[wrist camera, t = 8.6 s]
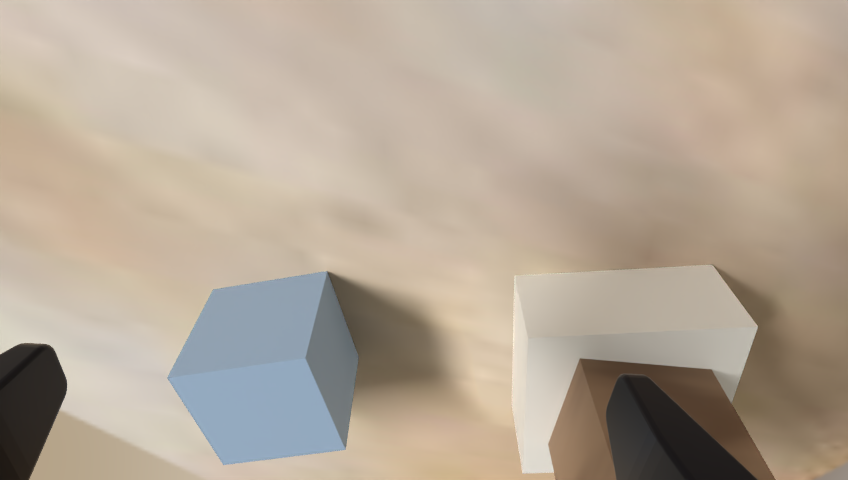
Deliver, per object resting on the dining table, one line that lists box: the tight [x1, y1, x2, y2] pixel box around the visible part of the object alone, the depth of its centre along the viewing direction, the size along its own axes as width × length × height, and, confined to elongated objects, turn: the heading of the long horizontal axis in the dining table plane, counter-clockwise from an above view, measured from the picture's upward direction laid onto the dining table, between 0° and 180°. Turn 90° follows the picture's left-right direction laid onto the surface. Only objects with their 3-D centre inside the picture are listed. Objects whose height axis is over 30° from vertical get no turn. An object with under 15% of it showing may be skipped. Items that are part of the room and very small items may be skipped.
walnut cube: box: [548, 358, 775, 480], centre depth 19 cm, size 5×5×6 cm
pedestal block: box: [512, 265, 758, 474], centre depth 23 cm, size 8×8×4 cm
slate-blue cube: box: [167, 271, 359, 465], centre depth 22 cm, size 5×5×5 cm
